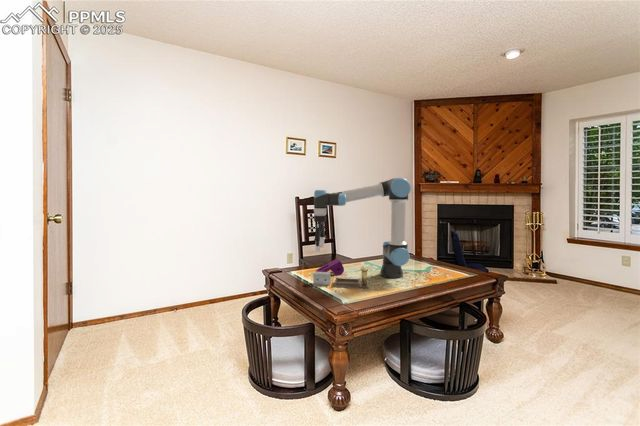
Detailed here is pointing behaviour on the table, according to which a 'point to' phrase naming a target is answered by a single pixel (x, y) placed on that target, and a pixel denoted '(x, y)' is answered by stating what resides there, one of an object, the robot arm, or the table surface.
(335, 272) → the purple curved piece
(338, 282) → the hinge base
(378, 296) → the table surface
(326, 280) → the grey block with holes
